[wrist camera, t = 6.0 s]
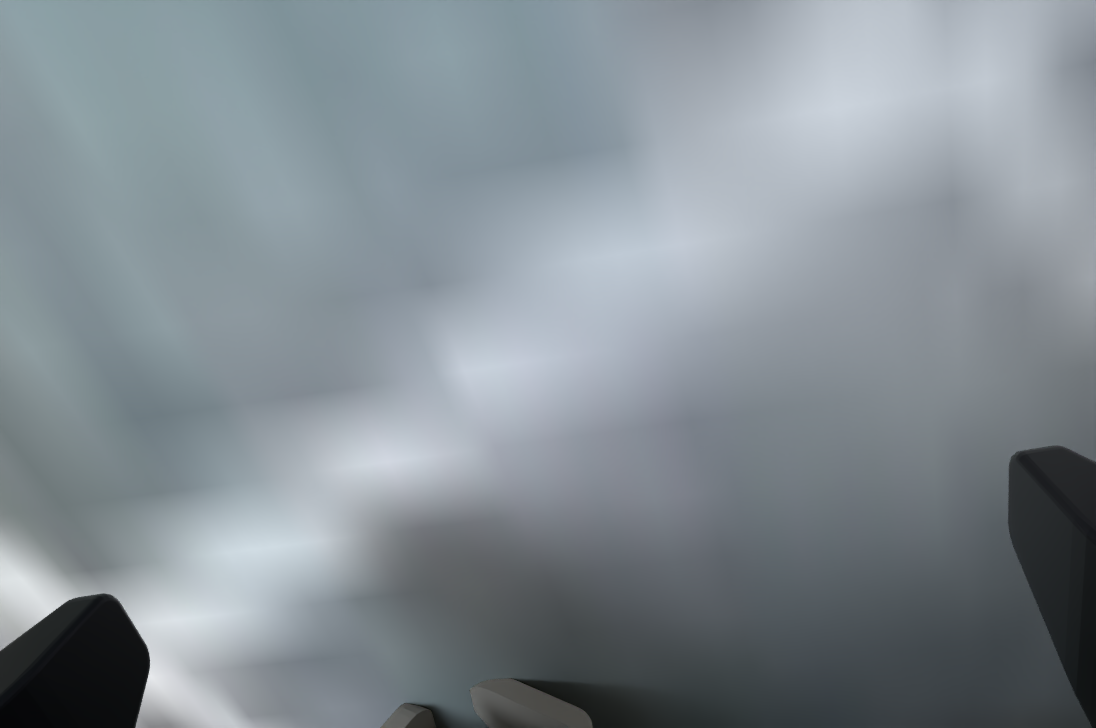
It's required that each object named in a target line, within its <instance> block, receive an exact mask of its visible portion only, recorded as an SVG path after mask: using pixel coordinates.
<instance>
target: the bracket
mask: <svg viewBox="0 0 1096 728" xmlns="http://www.w3.org/2000/svg"><path fill="white" fill-rule="evenodd" d="M470 694H471V698H472V702H473V706H474V711H475V712H476V713H477V715H478V716H479V717H480V718H481V719H482V720H483V721H484V723H485V724H486V725H487V726H488V727H489V728H593V726H592V721H591V719H590V717H589V715H588V714H587V713H586V712H585V711H583V710H582V709H580V708H578V707H576V706H574V705H571V704H569V703H567V702H564V701H562V700H560V699H558V698H555V697H553V696H551V695H548V694H546V693H544V692H542V691H539V690H537V689H535V688H532V687H530V686H528V685H525V684H523V683H521V682H519V681H516V680H514V679H512V678H509V679H492V680H486V681H483V682H480V683H478V684H476V685H475V686H473V687H472V688H471V689H470ZM381 728H436V726H435V722H434V719H433V715H432V711H431V710H429V709H426V708H423V707H421V706H417V705H412V704H407V703H404V704H403V705H401V706H400V707H399V708H398V709H397V710H396V711H395V712H394V713H393V714H392V715H391V716H390V718H389V719H388V720H387V721H386V722H385V723H384V724H383V726H382V727H381Z"/></svg>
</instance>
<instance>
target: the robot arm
mask: <svg viewBox="0 0 1096 728" xmlns="http://www.w3.org/2000/svg"><path fill="white" fill-rule="evenodd" d="M1008 525H1009V532H1010V537H1011V540H1012V544H1013V547H1014V549H1015V552H1016V554H1017V557H1018V559H1019V562H1020V564H1021V566H1022V569H1023V571H1024V574H1025V576H1026V578H1027V581H1028V583H1029V586H1030V588H1031V590H1032V593H1033V595H1034V598H1035V600H1036V603H1037V605H1038V607H1039V610H1040V612H1041V615H1042V617H1043V619H1044V622H1045V624H1046V627H1047V629H1048V631H1049V634H1050V636H1051V639H1052V641H1053V644H1054V646H1055V648H1056V651H1057V653H1058V656H1059V658H1060V660H1061V663H1062V665H1063V668H1064V670H1065V672H1066V675H1067V677H1068V679H1069V681H1070V684H1071V686H1072V688H1073V691H1074V693H1075V695H1076V697H1077V699H1078V701H1079V703H1080V705H1081V707H1082V709H1083V710H1084V712H1085V714H1086V716H1087V718H1088V720H1089V722H1090V724H1091V726H1092V727H1093V728H1096V462H1094V461H1092V460H1090V459H1088V458H1086V457H1084V456H1082V455H1080V454H1078V453H1076V452H1074V451H1072V450H1070V449H1068V448H1065V447H1062V446H1048V447H1042V448H1036V449H1029V450H1023V451H1018V452H1016V453H1015V454H1014V455H1013V456H1012V457H1011V460H1010V464H1009V501H1008ZM149 669H150V657H149V652H148V648H147V646H146V644H145V642H144V640H143V639H142V637H141V636H140V634H139V632H138V631H137V629H136V628H135V626H134V624H133V623H132V621H131V619H130V618H129V616H128V615H127V613H126V611H125V610H124V608H123V606H122V605H121V603H120V602H119V601H118V599H116V598H115V597H113V596H112V595H110V594H97V595H91V596H84V597H78V598H74V599H71V600H69V601H67V602H66V603H64V604H63V605H62V606H60V607H59V608H58V609H56V610H55V611H53V612H52V613H51V614H49V615H48V616H47V617H45V618H44V619H43V620H41V621H40V622H39V623H37V624H36V625H35V626H33V627H32V628H31V629H29V630H28V631H27V632H25V633H24V634H22V635H21V636H20V637H18V638H17V639H16V640H14V641H13V642H12V643H10V644H9V645H8V646H6V647H5V648H4V649H2V650H1V651H0V728H135V727H136V722H137V718H138V714H139V710H140V706H141V702H142V698H143V694H144V690H145V686H146V682H147V678H148V674H149Z"/></svg>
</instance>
